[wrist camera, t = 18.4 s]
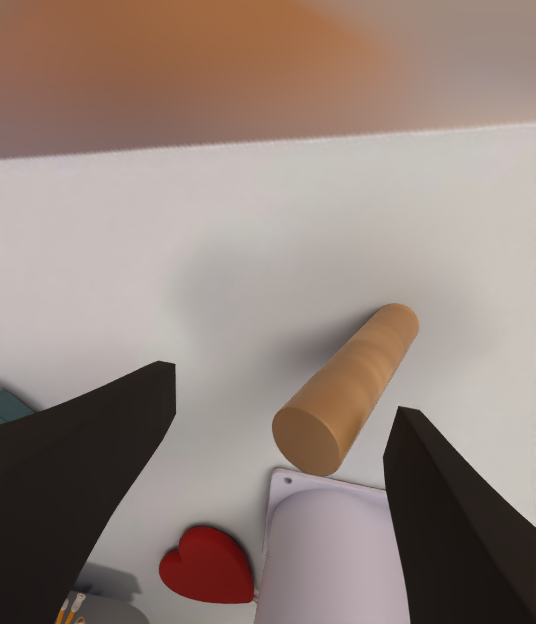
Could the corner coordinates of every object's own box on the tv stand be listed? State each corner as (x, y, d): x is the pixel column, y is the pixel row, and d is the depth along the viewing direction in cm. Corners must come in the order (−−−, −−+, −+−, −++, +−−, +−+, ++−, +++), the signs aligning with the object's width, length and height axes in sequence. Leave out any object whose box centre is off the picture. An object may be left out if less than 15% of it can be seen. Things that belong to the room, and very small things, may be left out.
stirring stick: (424, 310, 14) (347, 431, 7) (413, 349, 15) (334, 491, 8) (379, 298, 15) (274, 395, 8) (371, 335, 16) (269, 452, 9)
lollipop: (372, 621, 24) (197, 514, 23) (374, 637, 23) (192, 527, 22) (308, 658, 27) (154, 565, 26) (308, 673, 26) (148, 578, 25)
